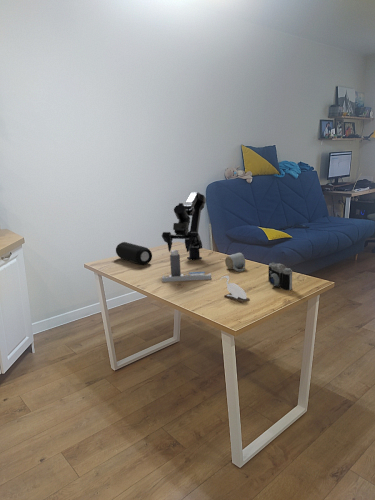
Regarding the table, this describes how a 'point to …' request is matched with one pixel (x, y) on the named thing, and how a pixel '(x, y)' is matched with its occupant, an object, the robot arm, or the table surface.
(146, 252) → the portable speaker
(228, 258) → the ceramic mug
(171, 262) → the grey upright cylinder
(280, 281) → the camera
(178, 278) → the white tray
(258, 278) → the table surface
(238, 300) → the figurine
